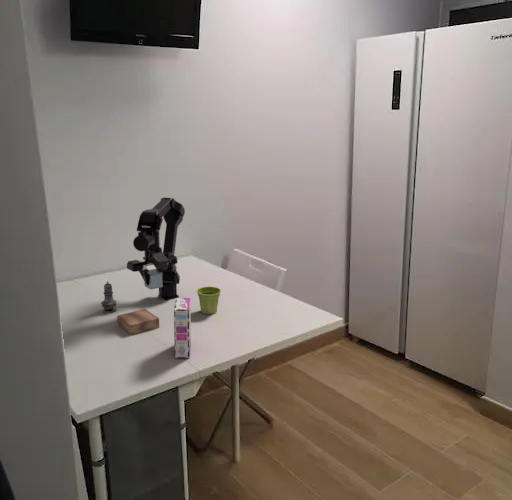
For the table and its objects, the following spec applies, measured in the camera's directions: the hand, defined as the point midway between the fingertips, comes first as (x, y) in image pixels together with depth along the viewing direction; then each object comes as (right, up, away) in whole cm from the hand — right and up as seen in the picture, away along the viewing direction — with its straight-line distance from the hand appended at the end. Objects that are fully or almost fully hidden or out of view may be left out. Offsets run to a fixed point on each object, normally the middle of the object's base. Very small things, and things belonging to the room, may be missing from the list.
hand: (153, 283), depth 200 cm
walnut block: (-3, -15, -12) cm, 19 cm away
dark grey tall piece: (-17, -11, +2) cm, 20 cm away
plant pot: (+21, -11, +2) cm, 24 cm away
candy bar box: (+16, -20, -31) cm, 40 cm away
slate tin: (0, -1, 0) cm, 1 cm away
